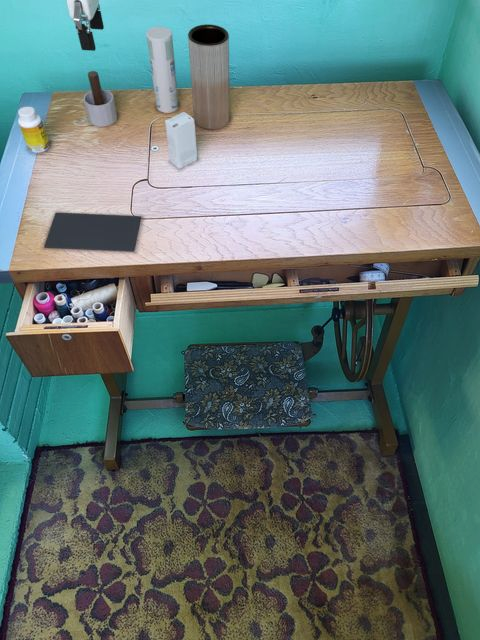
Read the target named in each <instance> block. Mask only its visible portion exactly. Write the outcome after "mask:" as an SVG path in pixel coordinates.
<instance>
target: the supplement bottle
mask: <svg viewBox="0 0 480 640" xmlns="http://www.w3.org/2000/svg"><path fill="white" fill-rule="evenodd" d="M17 113H18V116H19V117H18V119H17V123H18V126H19V129H20V131H21V134H22V136H23V139H24V143H25V145H26V147H27V149H28V150H29V151H30V152H31V153H34V154H41V153H44V152H46V151H47V150H48V149H49V148H50V141H49V138H48V135H47V131H46V129H45V126H44V123H43V120H42V117H41V116H40V115H39V114H37V112H36V110H35V108H34V107H32V106H23V107H20V108H19V109H18V111H17Z"/></svg>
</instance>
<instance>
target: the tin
mask: <svg viewBox="0 0 480 640" xmlns="http://www.w3.org/2000/svg"><path fill="white" fill-rule="evenodd" d="M102 94H103V98H104V103H105V104H104V105H95V103H94V99H93V95H92V90H89V91H87V92H86V93H85V94H84V95H83V98H82V100H83V104H84V108H85V112H86V115H87V120H88V122H89V124H91V125H93V126H95V127H101V128H102V127H108V126H111V125H113V124H115V123H116V122H117V121H118V113H117V107H116V102H115V98H114V95H113V93H112V92H111V91H110V90H107V89H102Z"/></svg>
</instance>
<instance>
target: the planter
mask: <svg viewBox="0 0 480 640" xmlns="http://www.w3.org/2000/svg"><path fill="white" fill-rule="evenodd" d="M187 43H188V57H189V71H190V82H191V97H192V98H191V99H192V109H193V110H192V111H193V119H194V122H195V124H196V125H197V126H199V127H201V128H202V129H206V130H218V129H221V128H223V127H226V126H227V125H228V124H229V123H230V118H231V101H230V98H231V97H230V95H231V94H230V90H231V89H230V34H229V32H228V31H227V29H226V28H224V27H222V26H219V25H216V24H211V23H210V24H208V23H207V24H200V25H196V26H194V27H192V28H191V29H189V31H188V33H187Z"/></svg>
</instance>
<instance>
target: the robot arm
mask: <svg viewBox="0 0 480 640" xmlns="http://www.w3.org/2000/svg"><path fill="white" fill-rule="evenodd" d="M66 5H67V10H68V14H69V18H70V19H71V20H72V21H73V23H74V25H75V29H76V34H77V36H78V40H79V44H80V49H81V50H82V51H89V52H90V51H91V52H92V51H96V49H97V47H96V42H95V38H94V33H93V31H91V30H100V31H101V30H102V31H103V30H104V27H105V26H104V22H103V15H102V11H101V5H100V0H66ZM83 22H85V23H83Z"/></svg>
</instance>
